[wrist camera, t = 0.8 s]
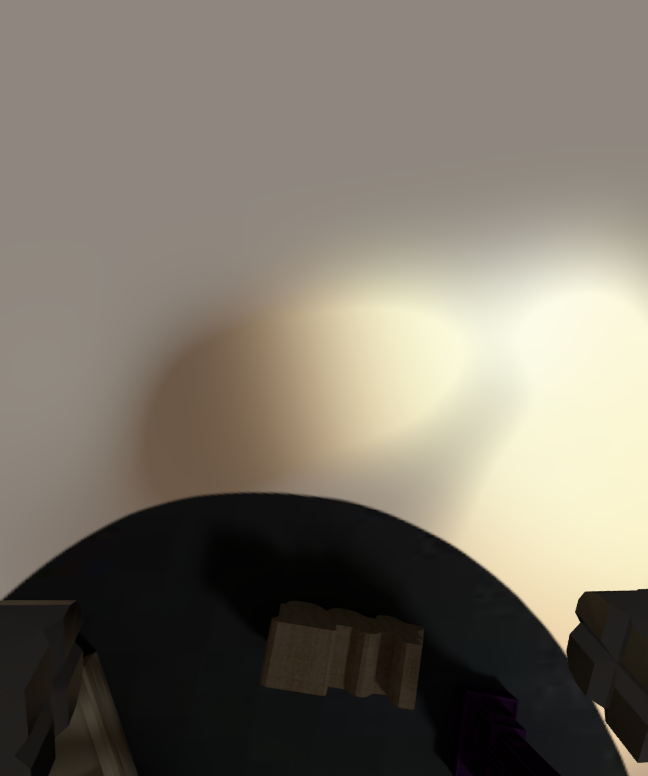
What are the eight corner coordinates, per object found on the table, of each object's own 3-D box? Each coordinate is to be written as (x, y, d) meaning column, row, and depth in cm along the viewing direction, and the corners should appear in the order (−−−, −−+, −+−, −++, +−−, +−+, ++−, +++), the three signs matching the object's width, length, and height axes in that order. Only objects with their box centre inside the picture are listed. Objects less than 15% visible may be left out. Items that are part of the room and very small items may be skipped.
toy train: (408, 672, 54) (440, 713, 45) (260, 649, 53) (259, 686, 43) (415, 620, 56) (447, 649, 46) (270, 596, 54) (271, 621, 44)
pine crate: (147, 790, 49) (135, 824, 44) (12, 862, 47) (-18, 906, 42) (100, 649, 51) (83, 666, 46) (-33, 710, 48) (-66, 736, 44)
